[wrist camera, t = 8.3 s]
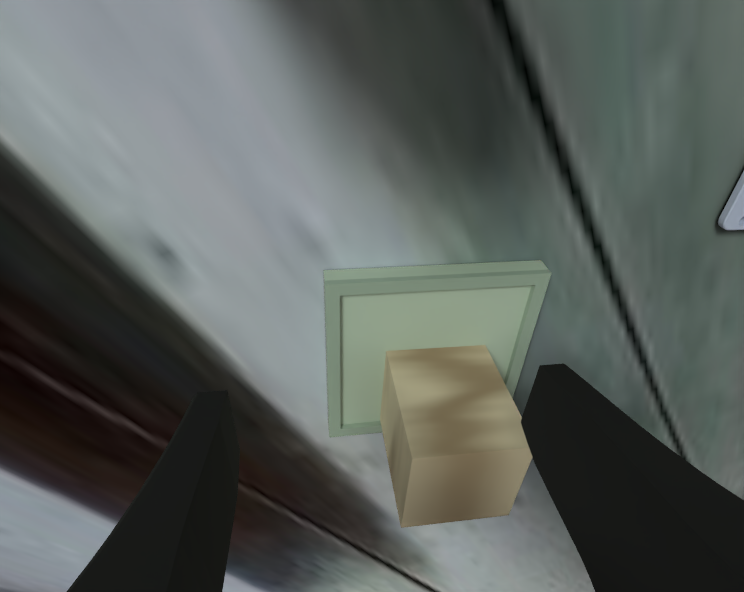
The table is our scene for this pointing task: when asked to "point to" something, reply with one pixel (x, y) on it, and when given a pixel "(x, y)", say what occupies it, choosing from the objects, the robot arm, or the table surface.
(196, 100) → the table surface
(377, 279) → the tray
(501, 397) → the maple block
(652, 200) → the table surface
